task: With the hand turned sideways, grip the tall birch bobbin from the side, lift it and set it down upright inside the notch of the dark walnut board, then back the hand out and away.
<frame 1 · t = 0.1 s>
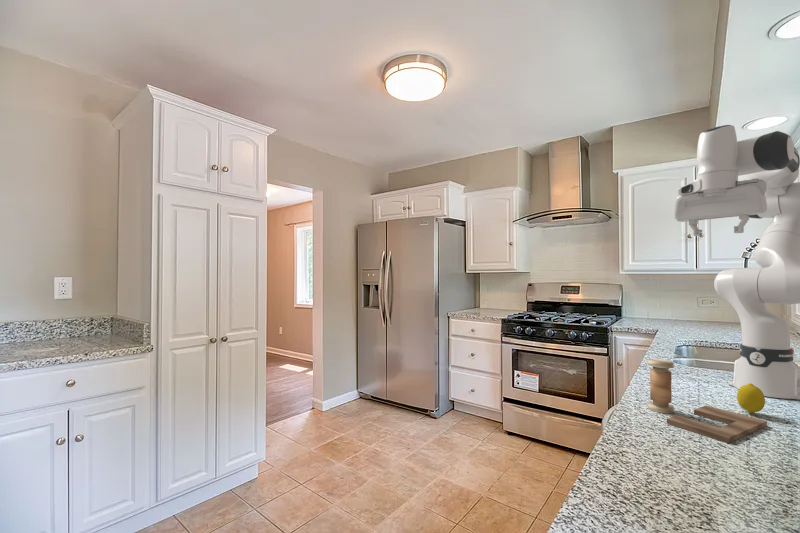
hand: (717, 234, 107), 48 cm above the countertop, fingers open, 8 cm apart
notched board: (716, 424, 95), on the countertop
bobbin: (660, 409, 105), on the countertop
lemon: (750, 414, 102), on the countertop
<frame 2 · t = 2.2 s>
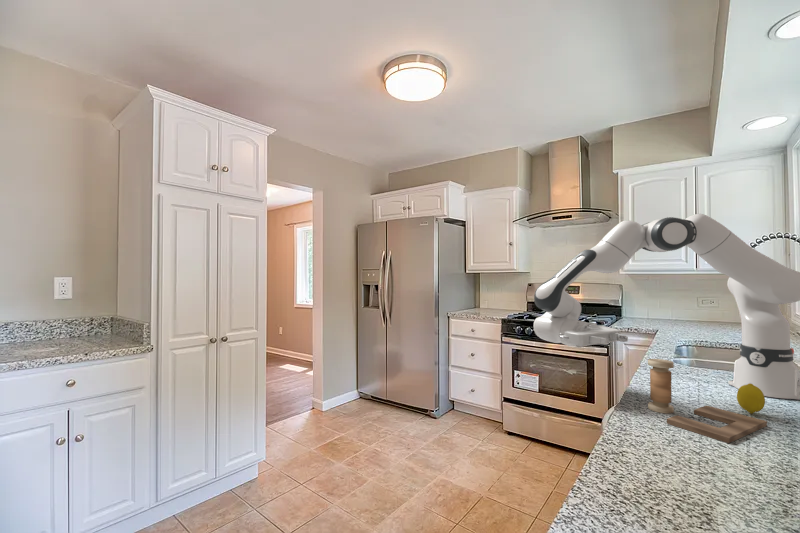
hand: (617, 340, 116), 17 cm above the countertop, fingers open, 8 cm apart
nothing on the countertop moved.
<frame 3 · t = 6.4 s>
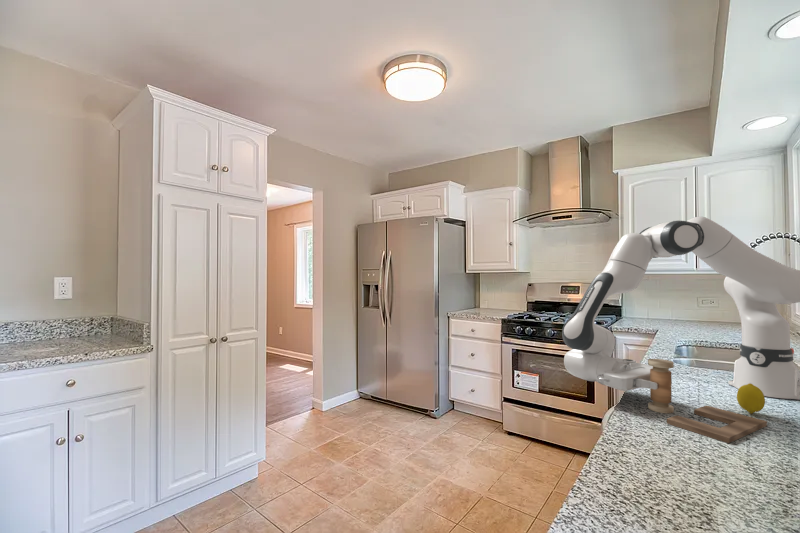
hand: (664, 384, 104), 7 cm above the countertop, fingers closed on bobbin, 5 cm apart
bobbin: (660, 409, 105), on the countertop, touching gripper
everything else where it was.
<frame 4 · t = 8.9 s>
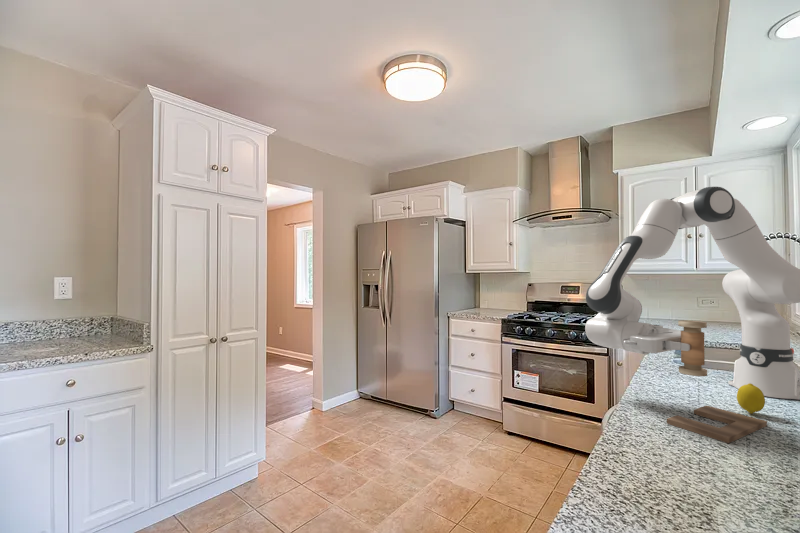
hand: (696, 346, 98), 19 cm above the countertop, fingers closed on bobbin, 5 cm apart
bobbin: (692, 373, 99), point 12 cm above the countertop, touching gripper
everything else where it was.
when the fingers open (8 cm above the countertop, at t = 11.7 s): bobbin drops 1 cm, on the countertop.
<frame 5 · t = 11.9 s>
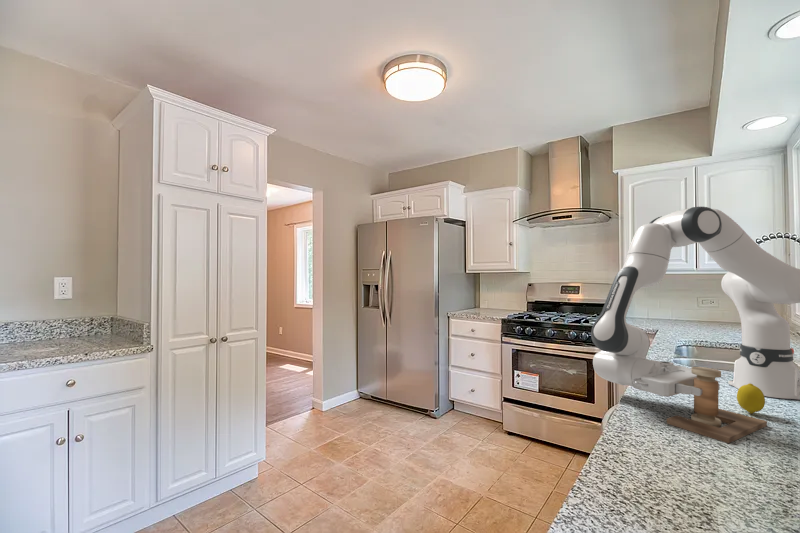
hand: (710, 389, 95), 8 cm above the countertop, fingers open, 7 cm apart
bobbin: (705, 422, 96), on the countertop
everything else where it was.
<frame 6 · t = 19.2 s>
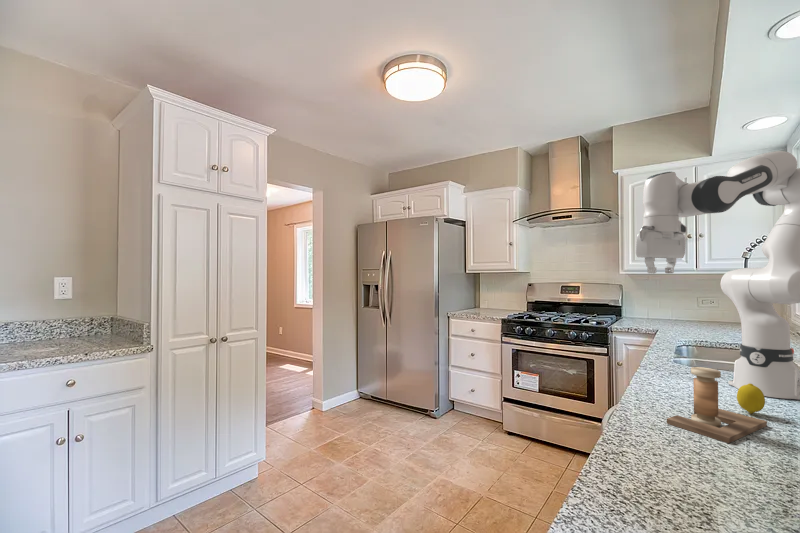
hand: (660, 273, 115), 37 cm above the countertop, fingers open, 8 cm apart
nothing on the countertop moved.
at the end: bobbin 0.1 cm from the target spot, on the countertop; bobbin tilted 0°; the gripper is holding nothing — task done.
